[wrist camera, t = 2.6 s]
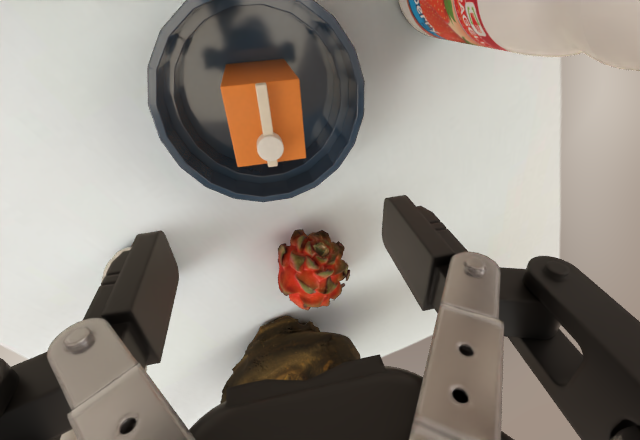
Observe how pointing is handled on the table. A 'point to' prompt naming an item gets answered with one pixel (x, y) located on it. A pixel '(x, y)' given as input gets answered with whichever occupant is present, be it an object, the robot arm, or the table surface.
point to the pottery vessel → (290, 353)
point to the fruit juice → (536, 26)
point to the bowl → (249, 46)
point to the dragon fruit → (311, 269)
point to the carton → (263, 112)
